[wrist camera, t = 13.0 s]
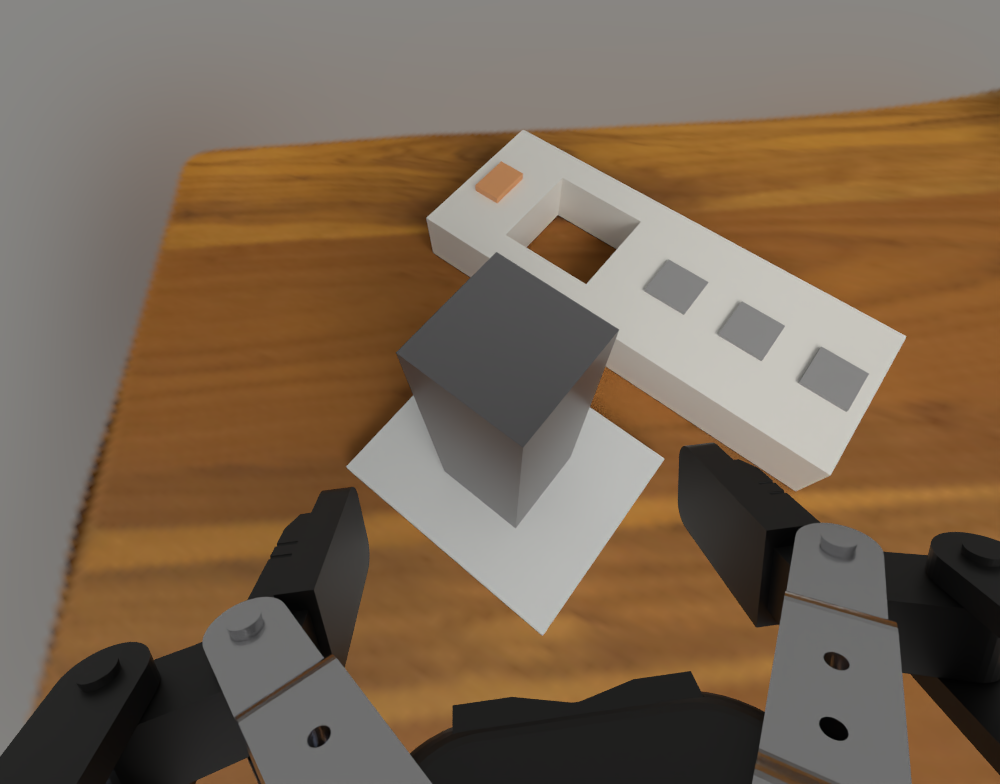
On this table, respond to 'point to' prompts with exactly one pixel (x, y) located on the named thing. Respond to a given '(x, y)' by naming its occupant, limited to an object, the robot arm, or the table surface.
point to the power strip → (684, 309)
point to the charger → (506, 382)
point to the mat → (543, 531)
